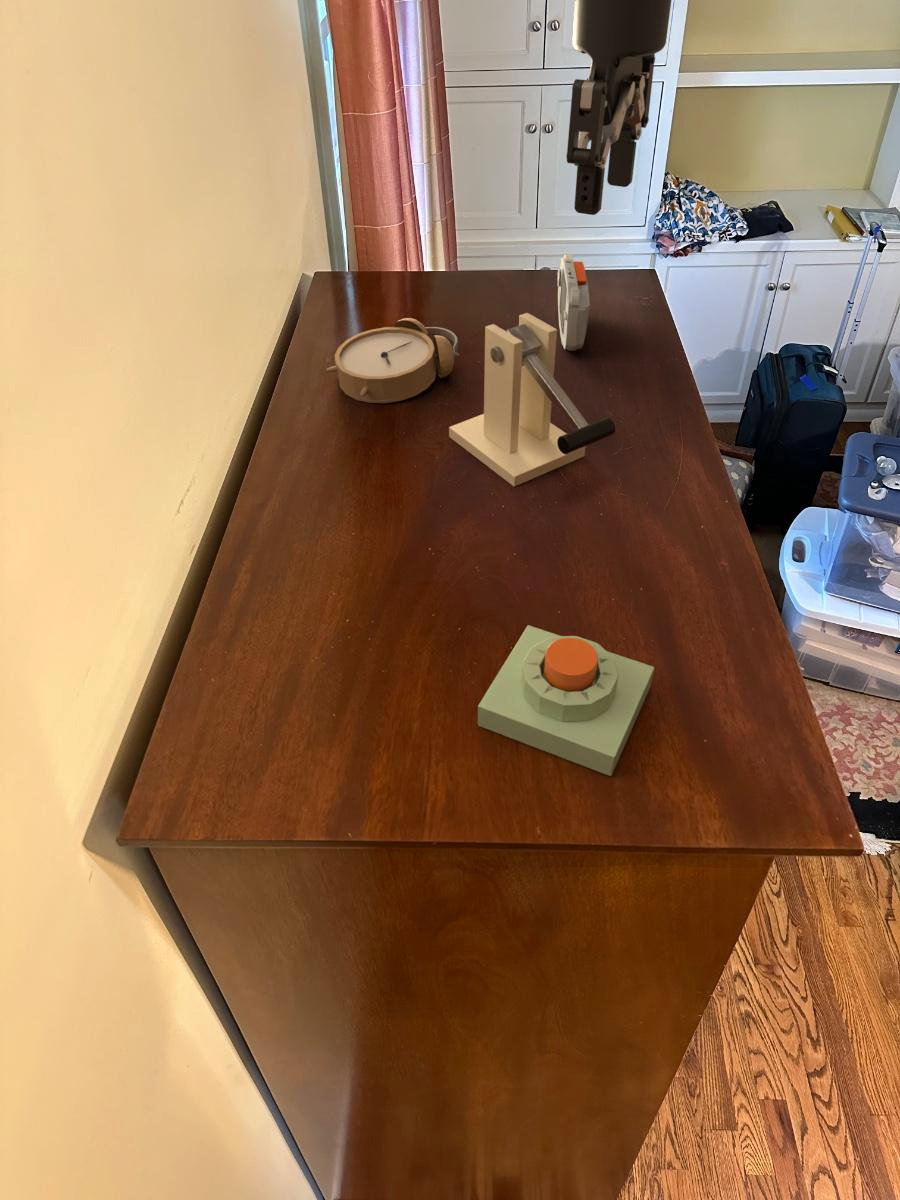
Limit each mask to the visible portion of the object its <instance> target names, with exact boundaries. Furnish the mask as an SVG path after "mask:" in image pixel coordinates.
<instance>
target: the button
mask: <svg viewBox="0 0 900 1200" xmlns="http://www.w3.org/2000/svg"><path fill="white" fill-rule="evenodd" d="M597 663H598V655H597V652H596V650H595V649H594V648H593V647H592V646H591V645H590V644H589V643H587V642H586V641H584V640H581V639H577V638H562V639H558V640H556V641H554V642H553V643H551V644H550V645H549V647H548V648H547V650H546V654H545V665H544V674H545V677H546V679H547V681H548V682H549V683H550V684H551V685H552V686H554V687H555V688H557V689H560V690H563V691H567V692H577V691H581V690H584V689H586V688H588V687H589V686H590V685H591V684H592V683H593V682H594V680H595V676H596V670H597Z"/></svg>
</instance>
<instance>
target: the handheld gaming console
mask: <svg viewBox="0 0 900 1200" xmlns="http://www.w3.org/2000/svg"><path fill="white" fill-rule="evenodd" d="M588 282H589V281H588V278H587V272H586V268H585V265H584V262H583V261H574V255H572V254H564V255H563V257H561V258H560V267H558V270H557V287H558V288H557V310H558V326H559V335H560V340H561V345H562V346H563V349H564V351H569V352H571V351H572V352H574V351H576V350H581V349H583V347H584V343H585V340H586V335H587V328H588V321H589V315H590V309H591V302H590V287H589V283H588Z"/></svg>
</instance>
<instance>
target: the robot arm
mask: <svg viewBox="0 0 900 1200" xmlns="http://www.w3.org/2000/svg"><path fill="white" fill-rule="evenodd" d="M671 7H672V0H574V8H573V9H574V10H573V23H572V37H571V38H572V40H571V42H572V43H571V44H572V46H573V48H574V49H575V50H576V51H577V52H579V53H580V54H587V55H588V56H589V57H590V58H591V64H590V68H589V74H588V77H587V79H578V78H575V79H574V81H573V84H572V87H571V90H572V91H571V102H570V112H569V114H570V115H569V124H568V125H569V126H568V137H567V148H566V162H567V164H571V165H572V164H573V165H574V166H575V167H576V169H577V170H576V180H575V181H576V182H575V194H574V206H573V207H574V210H575V211H576V213H578V214H581V215H582V214H583V215H588V216H589V215H591V216H596V215H597V214H598V213H599V212H600V211H601V209H602V204H603V202H602V201H603V193H604V181H605V172H606V171H605V170H606V164H607V160H608V166H607V167H608V168H607V177H606V181H607V184H608V185H610V186H613V187H621V188H627V187H628V186H630V185H631V184H632V183H633V177H634V168H635V160H636V151H637V143H638V142H637V141H640V138H641V137H642V133H643V131H642V128H643V129H646V128H647V125H648V123H649V120H650V118H649V114H650V105H651V95H652V89H653V88H652V87H653V78H654V70H655V69H654V68H655V63H656V55H655V54H657V53H659V52H661V51H662V50H664V48H665V46H666V44H667V39H668V30H669V24H670V14H671ZM589 143H590V148H588V147H589ZM608 157H609V158H608Z"/></svg>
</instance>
